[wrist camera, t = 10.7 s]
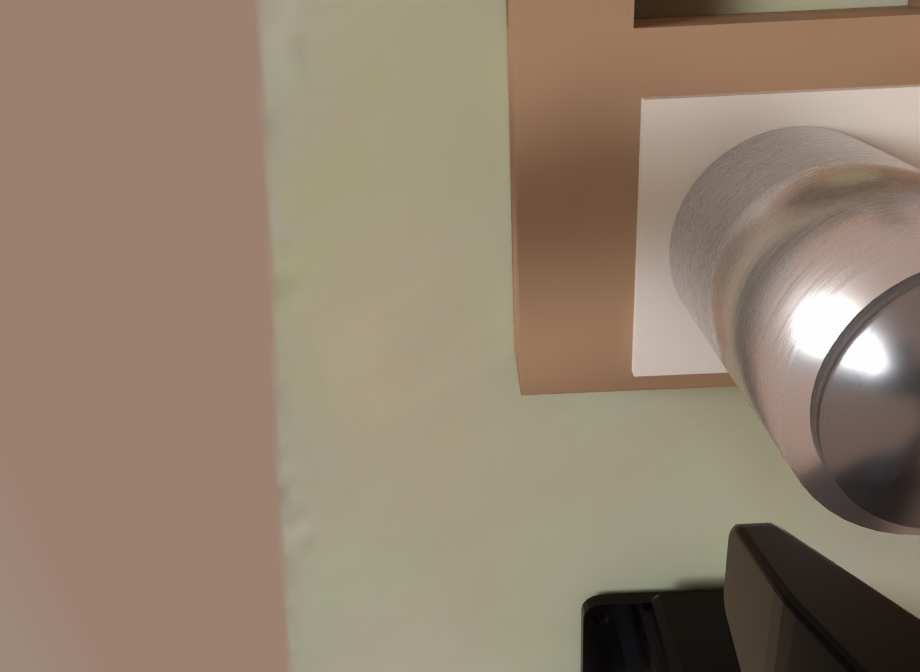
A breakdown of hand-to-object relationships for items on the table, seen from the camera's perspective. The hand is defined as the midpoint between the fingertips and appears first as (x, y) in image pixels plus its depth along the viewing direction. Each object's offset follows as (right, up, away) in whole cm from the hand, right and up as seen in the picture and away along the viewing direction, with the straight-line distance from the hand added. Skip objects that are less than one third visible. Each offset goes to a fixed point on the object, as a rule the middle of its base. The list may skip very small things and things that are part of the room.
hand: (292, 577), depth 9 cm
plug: (+9, +4, +9) cm, 13 cm away
